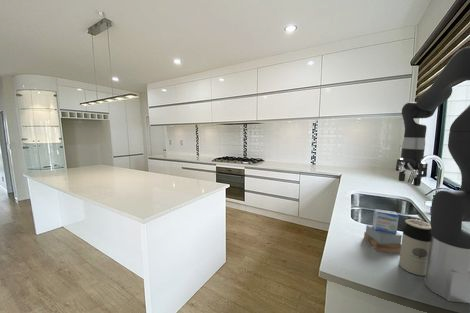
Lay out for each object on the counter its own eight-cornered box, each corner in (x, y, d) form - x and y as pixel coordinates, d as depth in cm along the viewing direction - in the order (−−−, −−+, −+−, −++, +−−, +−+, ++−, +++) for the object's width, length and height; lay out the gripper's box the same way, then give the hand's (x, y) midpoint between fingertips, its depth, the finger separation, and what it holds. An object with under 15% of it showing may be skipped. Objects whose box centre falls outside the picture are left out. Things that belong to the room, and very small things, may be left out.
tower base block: (401, 254, 83) (402, 245, 82) (376, 252, 84) (377, 243, 83) (386, 241, 92) (386, 233, 92) (363, 239, 94) (364, 231, 93)
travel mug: (398, 259, 78) (404, 216, 76) (426, 267, 74) (432, 222, 71) (399, 269, 72) (404, 223, 70) (428, 279, 67) (436, 231, 65)
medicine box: (374, 230, 86) (376, 211, 85) (372, 226, 91) (374, 208, 89) (396, 234, 83) (399, 215, 82) (393, 229, 88) (395, 211, 86)
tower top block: (400, 244, 83) (401, 235, 83) (379, 243, 83) (380, 235, 83) (384, 233, 92) (385, 225, 92) (365, 233, 92) (366, 225, 92)
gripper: (437, 149, 79) (431, 188, 81) (409, 146, 93) (405, 179, 95) (417, 149, 80) (412, 187, 82) (392, 146, 94) (388, 179, 96)
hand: (408, 183), depth 88 cm, fingers open, 8 cm apart
